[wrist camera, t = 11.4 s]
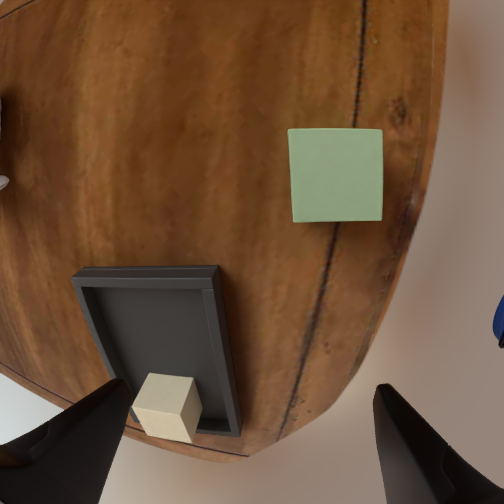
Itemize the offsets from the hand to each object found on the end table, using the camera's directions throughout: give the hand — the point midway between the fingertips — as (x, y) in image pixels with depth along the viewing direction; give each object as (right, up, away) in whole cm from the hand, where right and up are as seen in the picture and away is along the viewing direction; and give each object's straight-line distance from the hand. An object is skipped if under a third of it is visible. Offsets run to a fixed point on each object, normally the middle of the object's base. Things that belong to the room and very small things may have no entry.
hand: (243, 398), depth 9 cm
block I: (+5, +10, +8) cm, 14 cm away
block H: (-7, -8, +16) cm, 19 cm away
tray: (-7, -4, +15) cm, 17 cm away
